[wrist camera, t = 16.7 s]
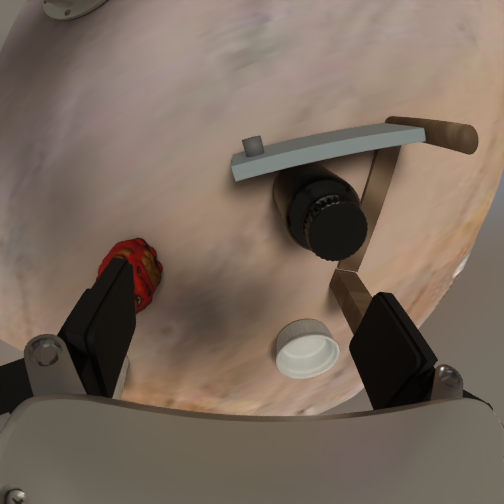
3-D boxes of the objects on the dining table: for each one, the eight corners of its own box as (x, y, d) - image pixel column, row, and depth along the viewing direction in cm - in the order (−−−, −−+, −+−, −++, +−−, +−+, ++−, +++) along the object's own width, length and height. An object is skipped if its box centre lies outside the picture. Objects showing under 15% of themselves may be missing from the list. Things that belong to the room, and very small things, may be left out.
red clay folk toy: (173, 280, 35) (145, 372, 21) (128, 294, 36) (88, 379, 22) (147, 226, 32) (94, 302, 18) (101, 245, 32) (40, 319, 19)
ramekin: (283, 365, 43) (286, 385, 39) (264, 327, 39) (266, 349, 35) (336, 346, 42) (344, 366, 38) (324, 306, 38) (333, 326, 34)
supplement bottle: (260, 201, 31) (273, 248, 20) (293, 148, 29) (327, 166, 18) (311, 230, 33) (345, 286, 22) (343, 181, 30) (396, 216, 20)
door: (380, 110, 26) (421, 111, 19) (385, 133, 27) (425, 141, 20) (228, 140, 27) (225, 148, 20) (236, 165, 29) (235, 181, 21)
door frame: (385, 112, 27) (460, 118, 15) (405, 121, 27) (482, 134, 16) (329, 285, 36) (363, 356, 25) (349, 288, 37) (387, 356, 25)
